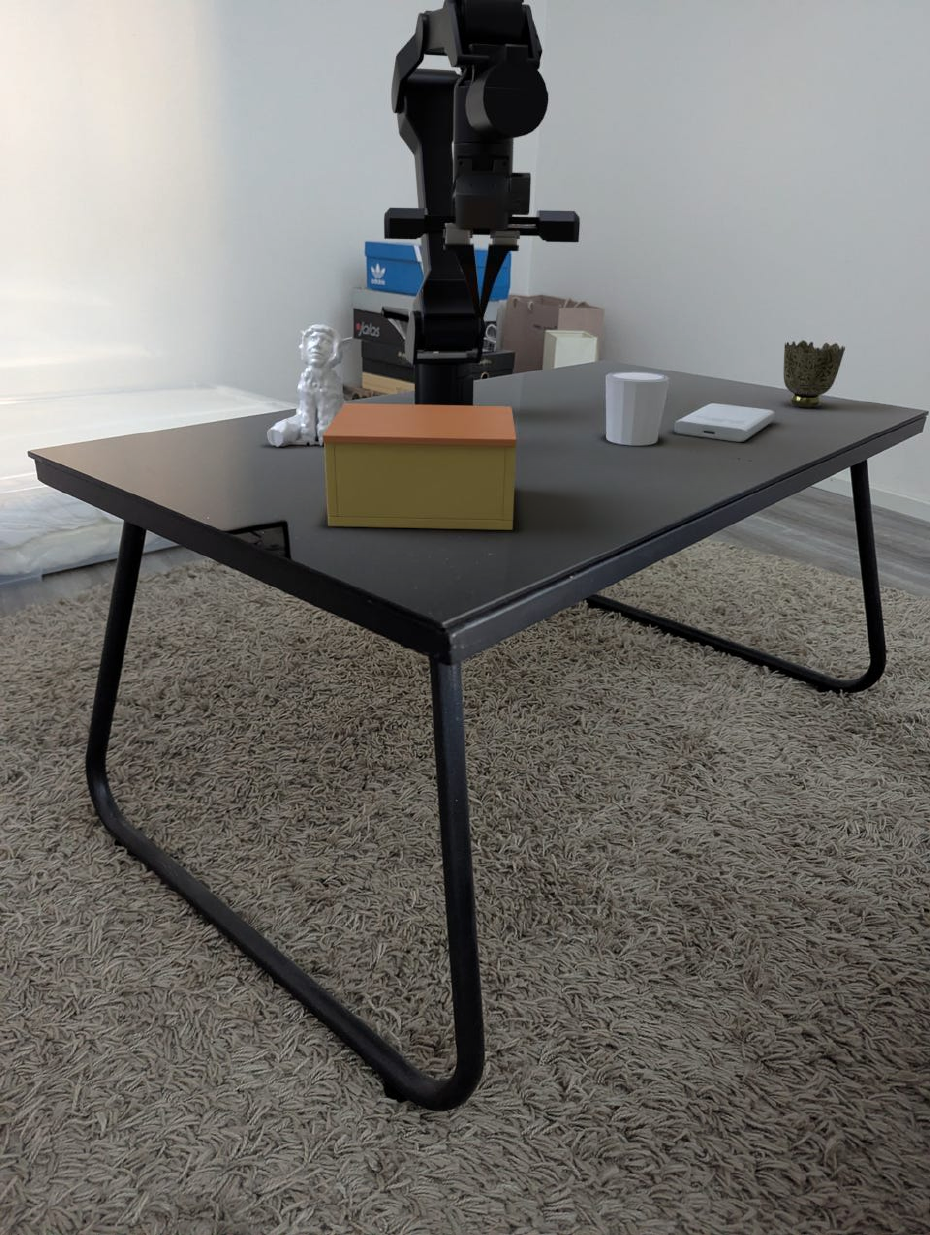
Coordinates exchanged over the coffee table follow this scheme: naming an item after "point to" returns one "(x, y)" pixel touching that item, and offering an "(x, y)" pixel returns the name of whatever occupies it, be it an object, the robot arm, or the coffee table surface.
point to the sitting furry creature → (314, 389)
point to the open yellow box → (420, 486)
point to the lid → (423, 425)
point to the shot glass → (634, 406)
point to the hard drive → (724, 422)
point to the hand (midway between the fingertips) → (479, 318)
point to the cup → (810, 371)
